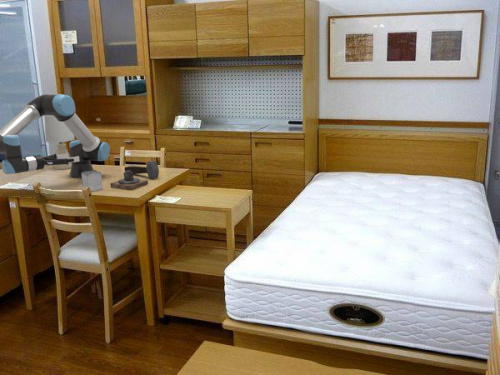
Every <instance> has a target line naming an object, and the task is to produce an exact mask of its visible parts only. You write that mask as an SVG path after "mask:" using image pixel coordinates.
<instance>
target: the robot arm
mask: <svg viewBox="0 0 500 375" xmlns="http://www.w3.org/2000/svg"><path fill="white" fill-rule="evenodd" d="M45 115H53V116H54V117H55V118H56V119H57V120H58V121H59V122H63V123H64V124H65V125H66V126H67V127H68V129H69V130H70V131H71V132H72V133H73V134H74V137H75V138H76V139H77V140H76V139H75V140H72V141H69V143H68V144H69V152H68V153H69V154H68V153H67V154H60V155H56V153H54V154H51V155H46V156H42V155H40V154H39V155H34V156H33V155H30V156H24V157H23V155H22V148H21V142H20V137H19V134H20V133H22V131H24V130H25V129H26V128H27V127H28V126H29V125H31V123H32V122H34V121H35V120H39V119H40V118H42V117H44V116H45ZM110 149H111V148H110V145H109V143H108V142H106V141H102V140H101V139H100V138H99V137H98V136H95V135H94V134H93V133H92V132H91V131H90V129H89V128H88V127H87V126H86V125H85V123H84V122H83V121H82V120H81V119H80V117H79V116H78V114H76V105H75V101H74V99H73V98H72V97H71V96H70V95H67V94H63V93H62V94H61V93H60V94H41V95H39V96H37V97H35V98H33V99H32V100H31V101H29V102H28V103H26V105H24V107H23V110H22V111H21V112H20V113H18V114H17V115H16V116H15V117H13V118H12V119H11V120H10V121H8V123H7V124H6V125H4V126H3V127H2V128H1V129H0V154H2V155H3V154H4V155H5V159H3V160H2V161H1V169H2V172H3V173H4V174H5V175H13V174H14V175H16V174H21V173H27V172H28V173H31V172H33V171H39V170H43V169H45V166H48V167H49V166H55V165H61V164H67V165H68V163H72V165H71V168H70V171H69V177H70V178H73V179H82V173H81V172H87V171H93V170H94V168H93V165H92V164H91V163H92V162H91V161H94V162H95V161H97V162H103V161H106V160H108V158H109V156H110V153H111V152H110V151H111V150H110ZM69 156H70V158H69ZM65 161H66V162H65Z"/></svg>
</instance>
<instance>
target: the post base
mask: <svg viewBox="0 0 500 375" xmlns="http://www.w3.org/2000/svg"><path fill="white" fill-rule="evenodd" d="M134 176H135V175H134V174H133V172H132V171H130V170H128V171H125V170H124V172H123V178H121V179H119V180H117V181H113V182H111V183H110V188H113V189H120V190H121V189H122V190H128V191H135V190H137V189H139V187H140V188H142V186H143V187H145V186H148V185H149V180H147V179H140V178H138V177H134ZM147 184H148V185H147ZM136 188H137V189H136Z"/></svg>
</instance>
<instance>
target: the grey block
mask: <svg viewBox="0 0 500 375" xmlns="http://www.w3.org/2000/svg"><path fill="white" fill-rule="evenodd" d="M81 173H82V178H81V179H82V180H81V181H82V189H83V188H86V187H90V189H91V192H95V191H100V190H103V187H104V186H103V179H102V172H101V171H99V170H95V169H93V171H87V172H81Z"/></svg>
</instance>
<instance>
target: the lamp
mask: <svg viewBox="0 0 500 375" xmlns="http://www.w3.org/2000/svg"><path fill="white" fill-rule="evenodd" d="M43 117H44V130H45V131H44V132H45V134H44V135H45V142H46V143H57V144H56V152H55V154H56V155H60V154H67V153H68V154H69V158H70V157H71V156H70V152H69V151H68V149H67V147H66V145H67V144H66V142H71V141H76V139H75V138H76V137H75V136H74V134H73V133H72V132H71V131H70V130H69V129H68V127H67V126H66V125H65V124H64V123H63V122H59V121H58V120H57V119H56V118H55V117H54V116H53V115H45V116H43ZM65 162H66V161H65ZM71 165H72V163H68V165H67V164H61V165H54V167H55V170H58V171H59V170H60V171H62V170H71Z"/></svg>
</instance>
